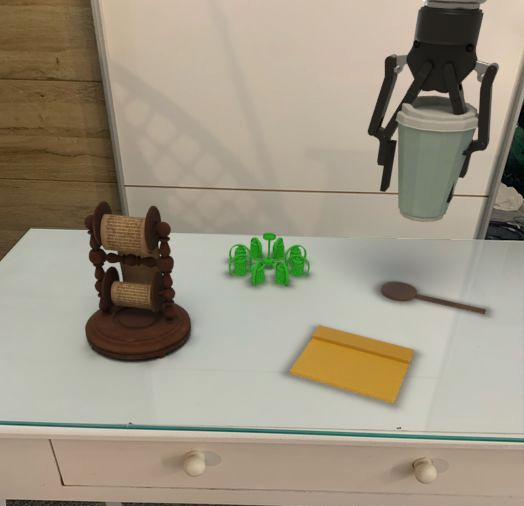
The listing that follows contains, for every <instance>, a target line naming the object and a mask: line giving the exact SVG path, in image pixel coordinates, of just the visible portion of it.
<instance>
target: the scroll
mask: <svg viewBox="0 0 524 506" xmlns="http://www.w3.org/2000/svg"><path fill="white" fill-rule="evenodd" d="M161 217H162V216H161V212H160V210H159V208H158V207H157V206H156V205H151V206H150V207H149V208H148V210H147V212H146V214H145V217H141V216H140V217H139V216H131V215H121V214H119V215H118V214H113V211H112V207H111V206H110V204H109V202H107V201H105V200H101V201H100V202H98V204H97V205H96V206H95V208H94V212H93V214H89V215H86V217H85V219H84V222H83V223H84V226H85V228H86V229H87V232H86V233H87V235H89V236H90V237H89V242H88V243H89V247H90V248H91V249H90V250H89V252H88V260H89V262H90V263H91V264H92V266H93V267H95V269H94V278H95V279H96V282H94V289H95V291H96V292H97V297H98V298H99V302H98V308H99V309H97V310H96V311H95V312H93V313H92V314H91V315H90V316H89V318H88V319H87V320H86V323H85V327H84V329H85V330H84V331H85V337H86V341H87V343H88V344H89V346H90V347H91V349H92V351H96V352H97V353H100V354H102V355H103V356H107V357H111V358H114V359H121V360H142V359H150V358H154V357H157V358H158V359H164V358H165V357H166V356H165V355H166V354H167V353H169V352H172V351H173V350H175V349H177V348H178V347H180V346H181V345H183V344H184V342H185V341H187V340H188V338H189V336H190V334H191V330H192V322H191V316H190V314H189V313H188V311H187V310H186V309H185V308H184V307H183V306H181V305H180V304H177V303H176V302H175V300H174V298H175V297H176V290H175V289H174V288H173V286H174V281H173V277H172V275H171V274H172V273H173V270H174V267H175V260H174V258H173V256H171V252H172V250H171V247H170V244H169V241H171V237H170V236H169V235H171V231H172V228H171V225H170V224H169V223H168V222H166V221H162V218H161ZM159 243H160V244H159ZM101 247H102V248H101ZM106 251H111V252H106ZM115 252H116V253H115ZM106 262H107V263H109V264H118V263H119V266H120V272H121V277H120V273H119V270H118V269H117V267H116V266H109V267H108V268H107V269H106V271H105V269H104V267H103V266H105V263H106ZM121 278H122V279H121ZM121 280H122V281H121Z"/></svg>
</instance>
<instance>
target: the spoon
mask: <svg viewBox="0 0 524 506" xmlns="http://www.w3.org/2000/svg"><path fill="white" fill-rule="evenodd" d="M380 294H381V296H383V297H384V298H387V299H389V300H392V301H395V302H410V301H413V300H415V299H416V300H420V301H423V302H424V301H425V302H428V303H432V304H437V305H441V306H445V307H446V306H447V307H450V308H455V309H459V310H464V311H466V312H467V311H468V312H472V313H477V314H481V315H486V311H487V309H486V308H481V307H477V306H473V305H468V304H465V303H460V302H455V301H452V300H451V301H450V300H446V299H443V298H437V297H433V296H428V295H424V294H420V293H418V291H417V289H416V287H414V286H413V285H411V284H409V283H406V282H403V281H396V280H395V281H387V282H384V283H383V284H382V285H381V286H380Z"/></svg>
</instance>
